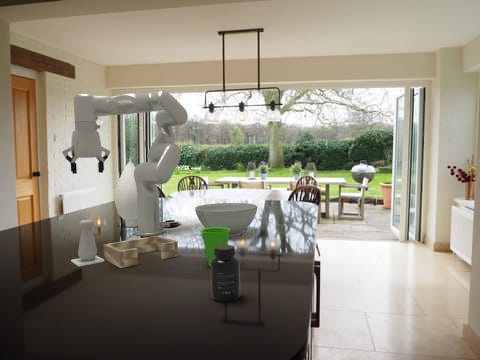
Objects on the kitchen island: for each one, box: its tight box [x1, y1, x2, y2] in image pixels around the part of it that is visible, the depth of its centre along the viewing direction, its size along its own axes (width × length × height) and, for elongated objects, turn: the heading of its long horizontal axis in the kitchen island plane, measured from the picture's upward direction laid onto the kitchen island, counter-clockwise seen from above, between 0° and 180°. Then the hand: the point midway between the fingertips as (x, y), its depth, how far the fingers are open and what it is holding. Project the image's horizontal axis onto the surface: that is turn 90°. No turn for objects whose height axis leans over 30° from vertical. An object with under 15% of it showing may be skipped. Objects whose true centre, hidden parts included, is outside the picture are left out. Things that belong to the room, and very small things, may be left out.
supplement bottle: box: [210, 244, 241, 303], centre depth 88 cm, size 7×7×12 cm
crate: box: [103, 235, 179, 269], centre depth 126 cm, size 20×14×5 cm
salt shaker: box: [77, 219, 98, 261], centre depth 122 cm, size 6×6×13 cm
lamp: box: [114, 156, 138, 228], centre depth 188 cm, size 16×16×35 cm
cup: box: [200, 227, 230, 268], centre depth 114 cm, size 9×9×11 cm
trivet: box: [70, 255, 105, 267], centre depth 122 cm, size 8×8×1 cm
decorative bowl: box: [194, 202, 259, 238], centre depth 161 cm, size 27×27×12 cm
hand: (88, 173), depth 142 cm, fingers open, 9 cm apart
